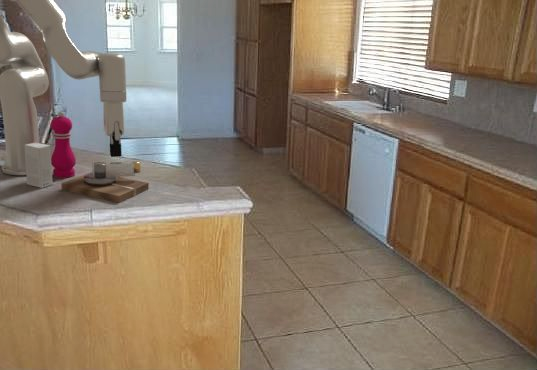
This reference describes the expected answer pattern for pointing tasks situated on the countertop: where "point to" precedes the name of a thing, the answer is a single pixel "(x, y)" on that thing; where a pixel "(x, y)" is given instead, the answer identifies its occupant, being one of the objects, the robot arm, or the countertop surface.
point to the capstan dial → (110, 172)
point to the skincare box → (38, 165)
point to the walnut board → (107, 188)
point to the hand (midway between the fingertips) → (115, 155)
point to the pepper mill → (62, 147)
